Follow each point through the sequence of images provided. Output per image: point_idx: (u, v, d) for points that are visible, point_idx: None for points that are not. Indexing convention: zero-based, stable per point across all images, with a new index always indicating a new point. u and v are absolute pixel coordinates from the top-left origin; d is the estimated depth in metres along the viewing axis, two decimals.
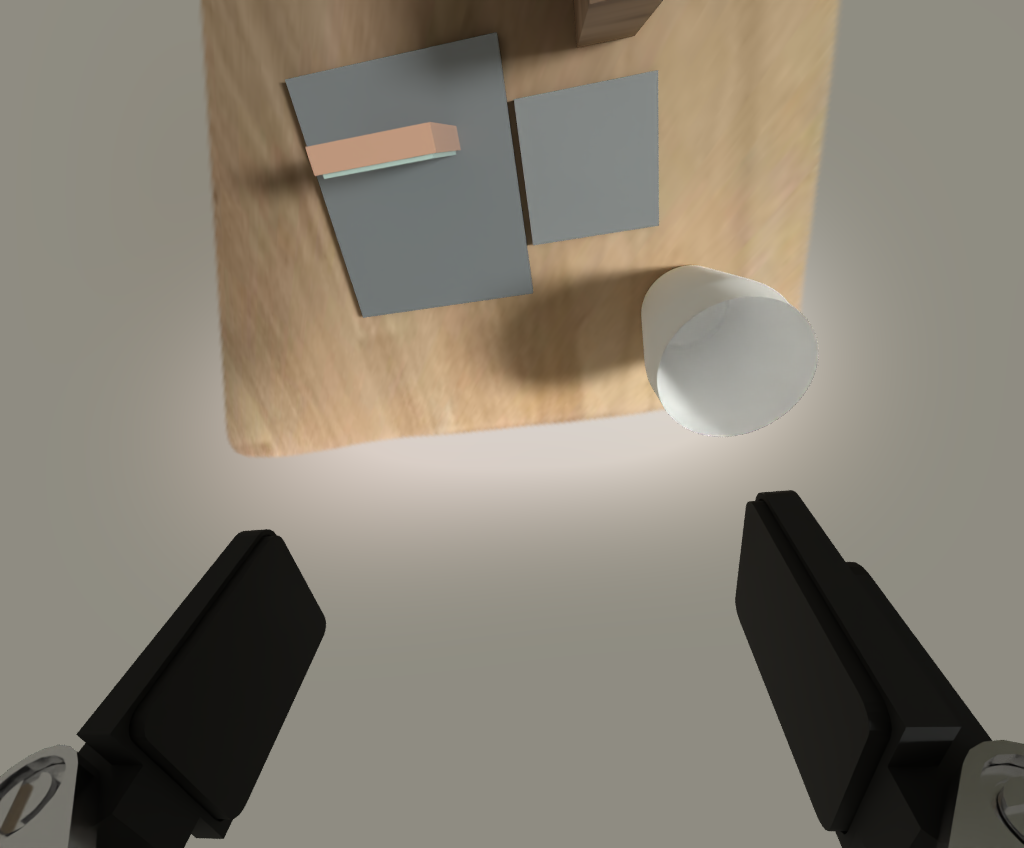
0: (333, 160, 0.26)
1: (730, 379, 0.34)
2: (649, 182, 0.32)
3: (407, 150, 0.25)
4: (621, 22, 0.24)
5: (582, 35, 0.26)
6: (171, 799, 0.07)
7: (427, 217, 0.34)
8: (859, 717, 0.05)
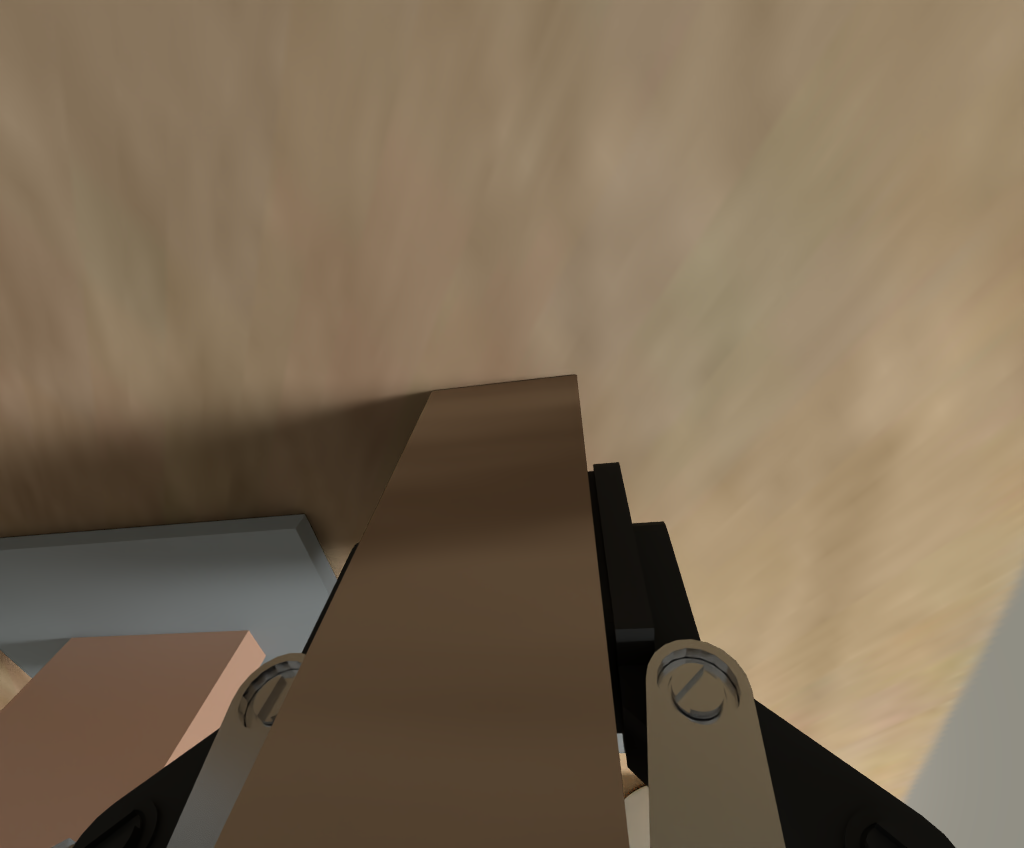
0: None
1: None
2: None
3: None
4: None
5: None
6: None
7: None
8: None
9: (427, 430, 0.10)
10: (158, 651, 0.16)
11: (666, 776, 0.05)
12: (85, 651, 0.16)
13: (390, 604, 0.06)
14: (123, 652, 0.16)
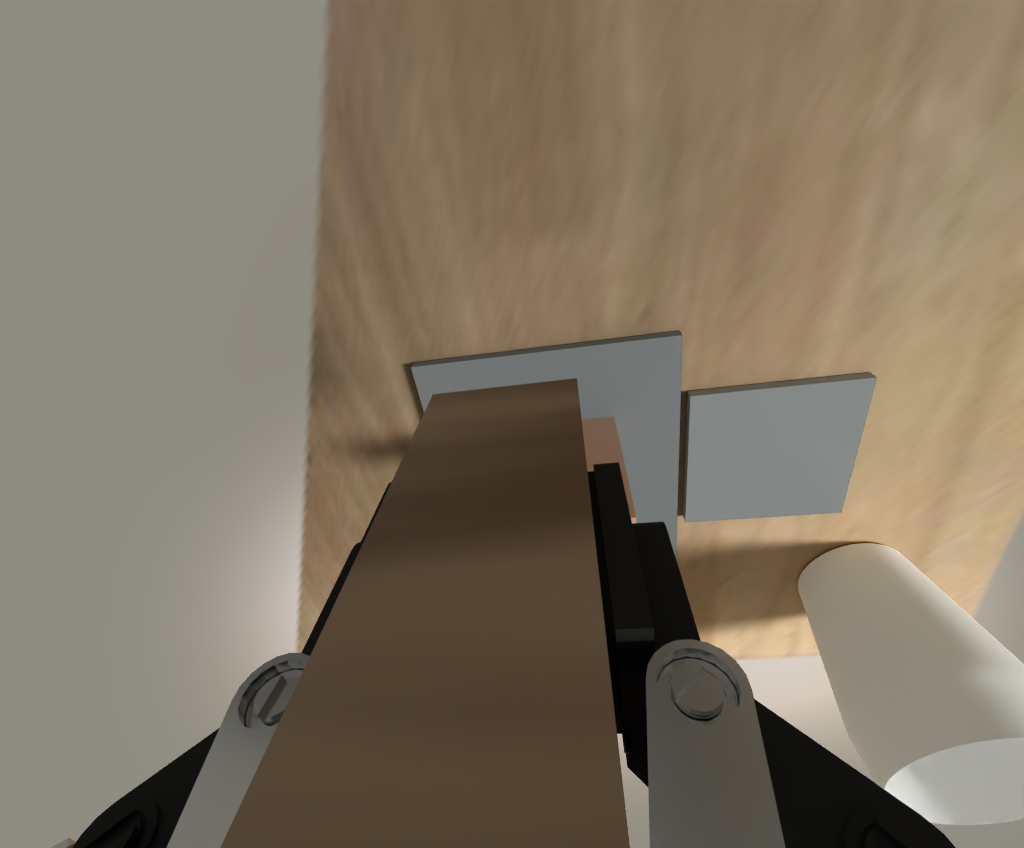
0: None
1: None
2: (839, 475, 0.27)
3: None
4: None
5: None
6: None
7: None
8: None
9: (428, 434, 0.10)
10: None
11: (666, 776, 0.05)
12: None
13: (392, 609, 0.06)
14: None
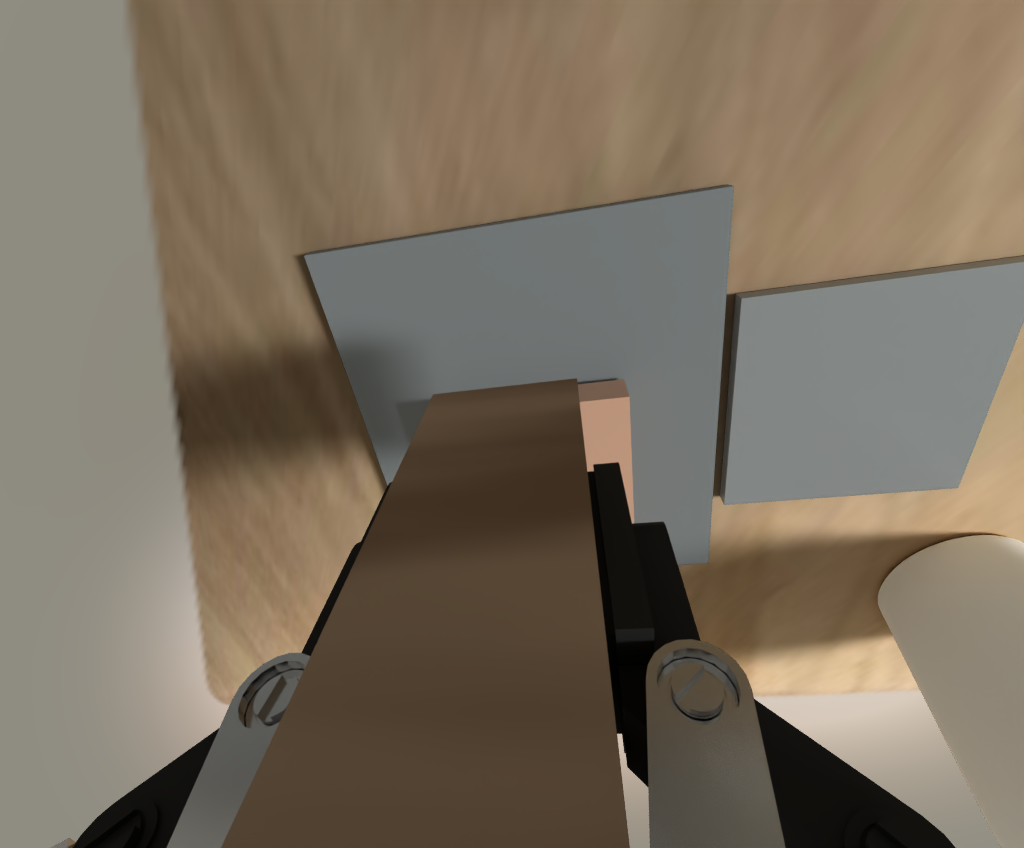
0: None
1: None
2: (963, 429, 0.18)
3: None
4: None
5: None
6: None
7: None
8: None
9: (428, 434, 0.10)
10: None
11: (666, 776, 0.05)
12: None
13: (392, 608, 0.06)
14: None
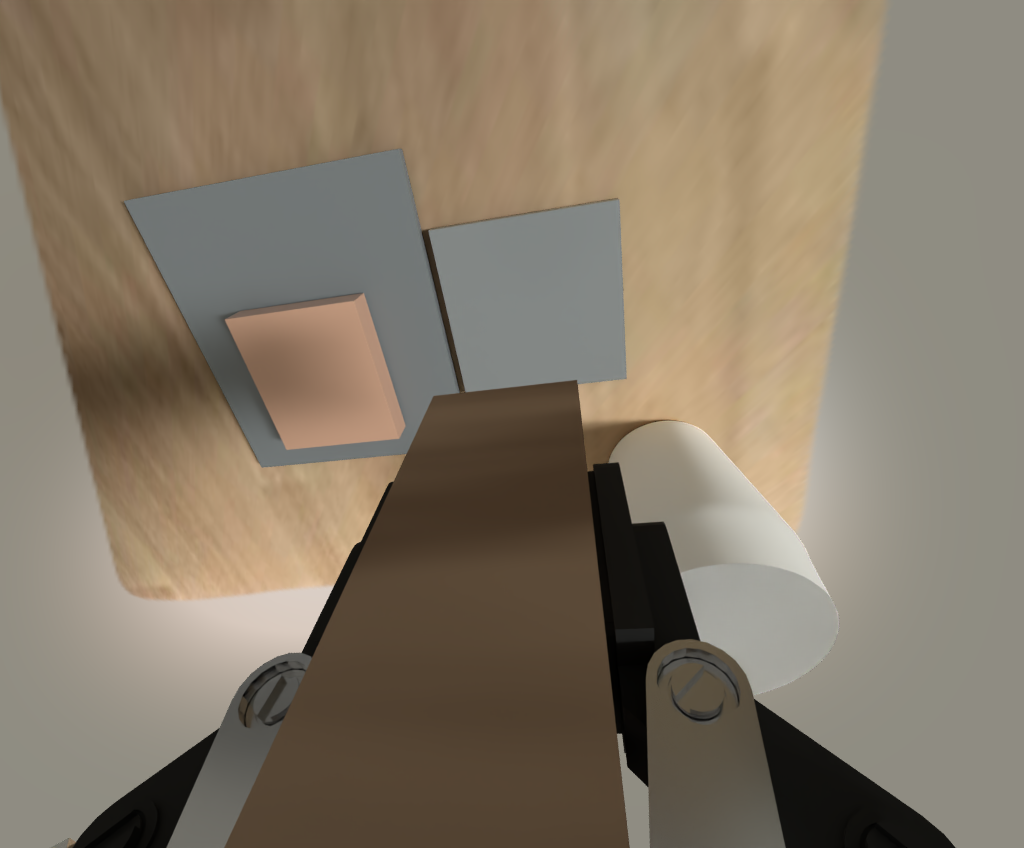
0: None
1: (719, 578, 0.26)
2: (612, 330, 0.25)
3: None
4: None
5: None
6: None
7: None
8: None
9: (429, 435, 0.10)
10: (303, 321, 0.24)
11: (666, 776, 0.05)
12: (249, 327, 0.24)
13: (394, 611, 0.06)
14: (279, 325, 0.24)
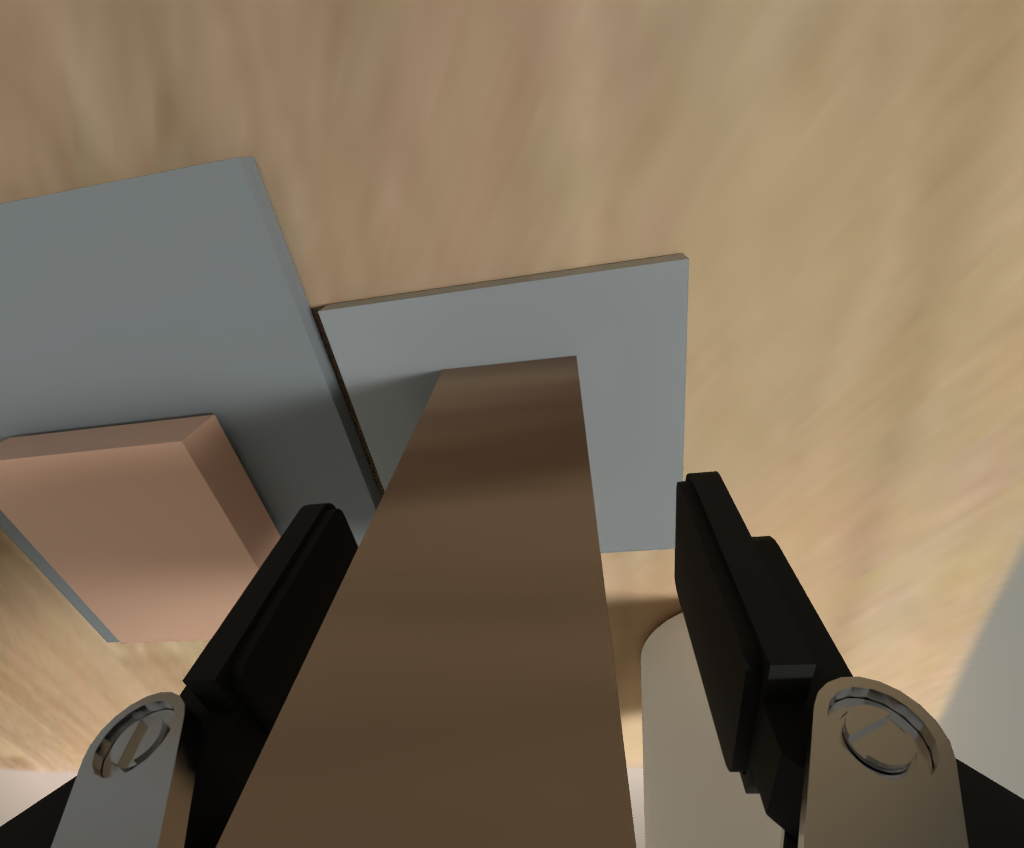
0: None
1: None
2: (661, 478, 0.14)
3: None
4: None
5: None
6: (261, 746, 0.07)
7: None
8: (741, 662, 0.06)
9: (440, 402, 0.11)
10: (99, 471, 0.13)
11: None
12: (7, 477, 0.13)
13: (416, 536, 0.07)
14: (57, 475, 0.13)
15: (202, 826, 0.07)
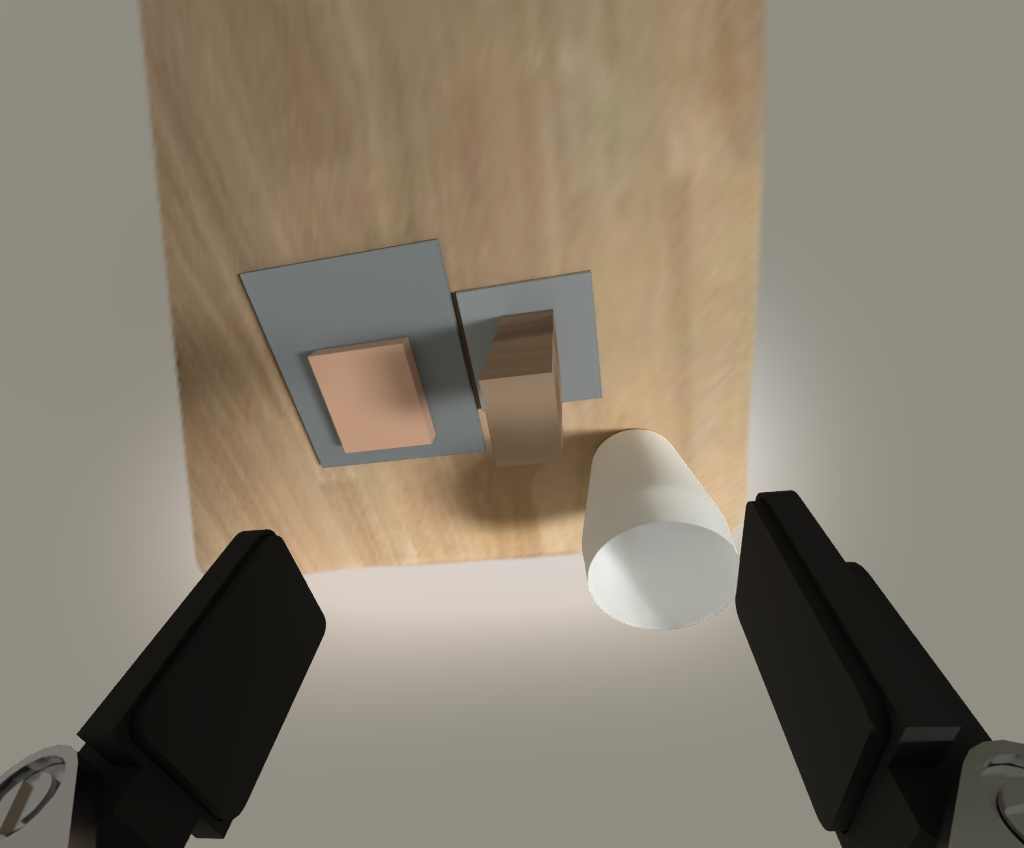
0: None
1: (674, 548, 0.34)
2: (590, 362, 0.33)
3: None
4: None
5: None
6: (171, 799, 0.07)
7: None
8: (859, 717, 0.05)
9: (503, 323, 0.30)
10: (365, 358, 0.33)
11: None
12: (325, 362, 0.33)
13: (505, 344, 0.27)
14: (346, 360, 0.33)
15: None
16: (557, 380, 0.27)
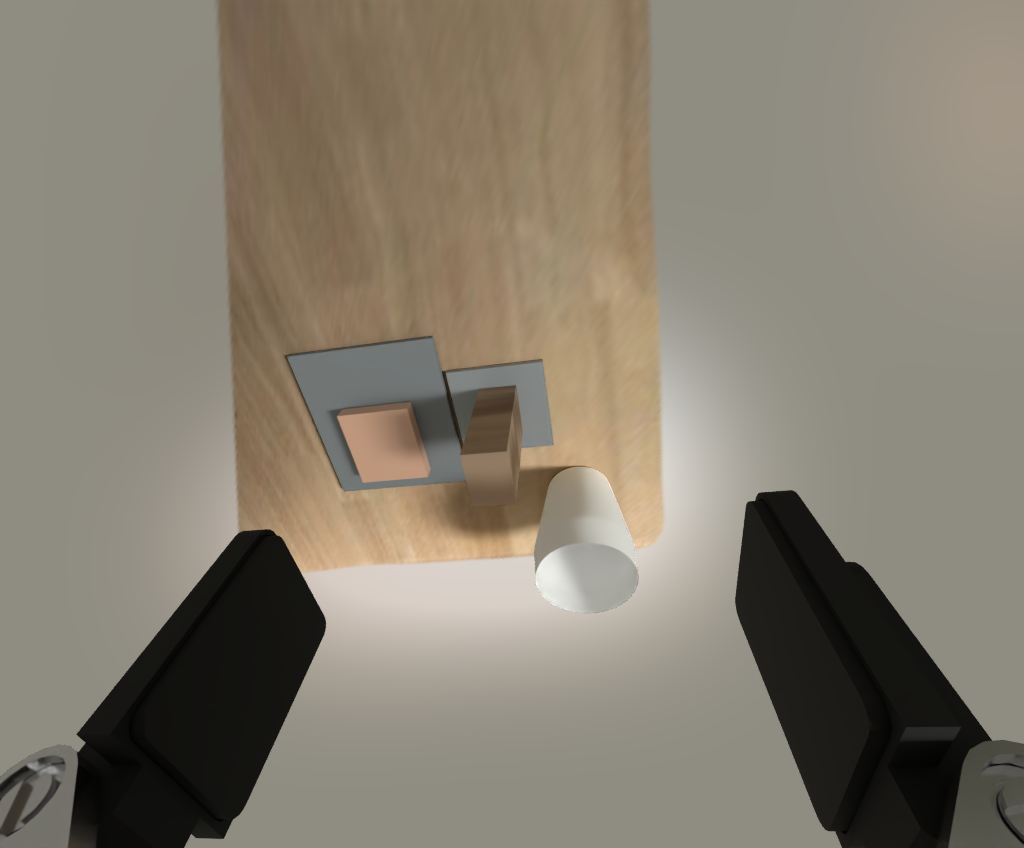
0: None
1: (604, 555, 0.47)
2: (544, 421, 0.46)
3: None
4: None
5: None
6: (171, 799, 0.07)
7: None
8: (859, 717, 0.05)
9: (480, 397, 0.43)
10: (379, 418, 0.45)
11: None
12: (349, 420, 0.45)
13: (479, 421, 0.39)
14: (365, 419, 0.45)
15: None
16: (515, 444, 0.40)
